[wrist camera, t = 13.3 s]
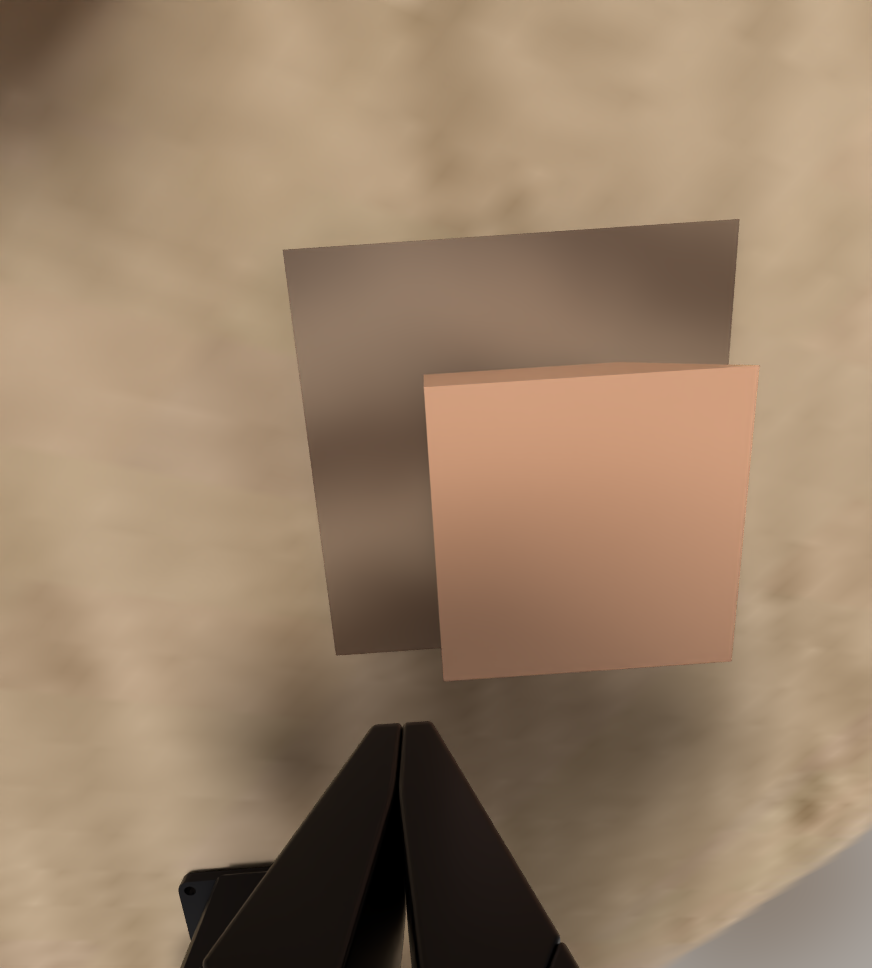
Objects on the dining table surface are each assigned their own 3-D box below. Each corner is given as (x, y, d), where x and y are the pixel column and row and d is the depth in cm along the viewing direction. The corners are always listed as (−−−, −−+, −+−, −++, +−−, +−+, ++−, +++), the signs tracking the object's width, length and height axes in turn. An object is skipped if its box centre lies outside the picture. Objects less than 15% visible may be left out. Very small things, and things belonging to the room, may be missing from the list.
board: (694, 614, 20) (708, 628, 19) (340, 640, 20) (336, 655, 19) (720, 227, 16) (739, 219, 15) (291, 256, 16) (282, 249, 15)
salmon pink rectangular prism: (614, 545, 17) (731, 661, 10) (436, 557, 17) (443, 681, 10) (618, 362, 15) (759, 365, 9) (423, 374, 15) (424, 387, 9)
